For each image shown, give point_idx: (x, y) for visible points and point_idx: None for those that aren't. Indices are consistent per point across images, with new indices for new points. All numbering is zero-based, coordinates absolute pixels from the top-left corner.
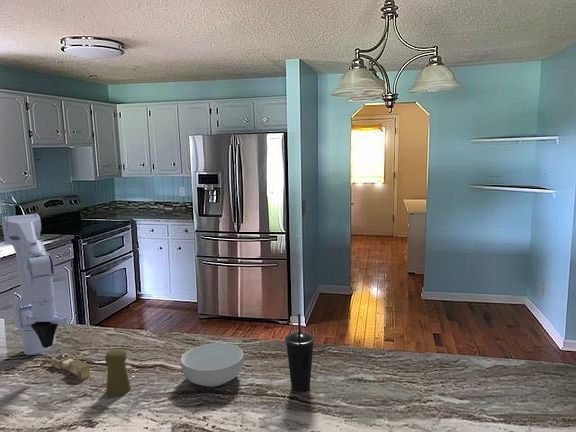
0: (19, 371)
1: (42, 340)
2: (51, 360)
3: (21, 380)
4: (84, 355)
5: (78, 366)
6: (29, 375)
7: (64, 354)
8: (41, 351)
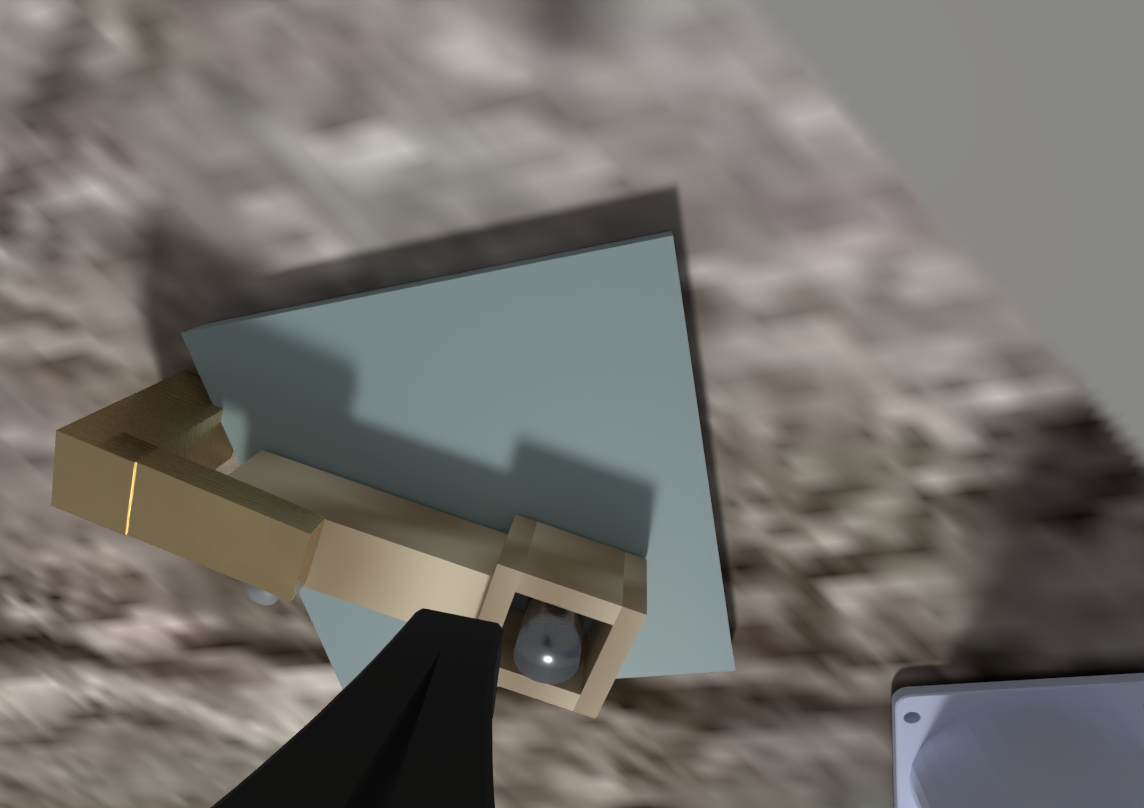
0: (955, 470)
1: (392, 723)
2: (635, 594)
3: (797, 324)
4: (555, 745)
5: (121, 467)
6: (786, 420)
7: (531, 676)
8: (946, 759)
